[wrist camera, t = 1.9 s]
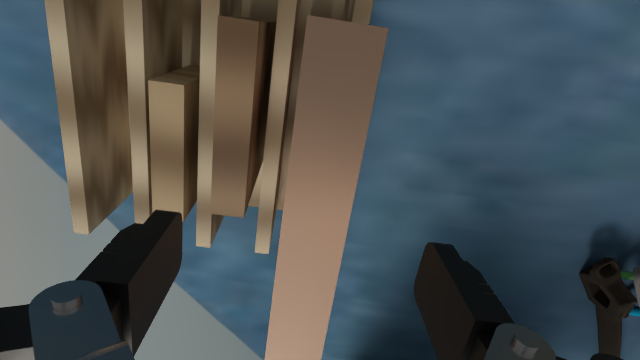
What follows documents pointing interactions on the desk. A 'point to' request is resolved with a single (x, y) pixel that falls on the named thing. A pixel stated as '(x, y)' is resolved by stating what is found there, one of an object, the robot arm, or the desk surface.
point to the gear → (639, 281)
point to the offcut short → (174, 139)
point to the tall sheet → (322, 179)
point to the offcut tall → (240, 110)
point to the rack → (133, 96)
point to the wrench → (608, 302)
